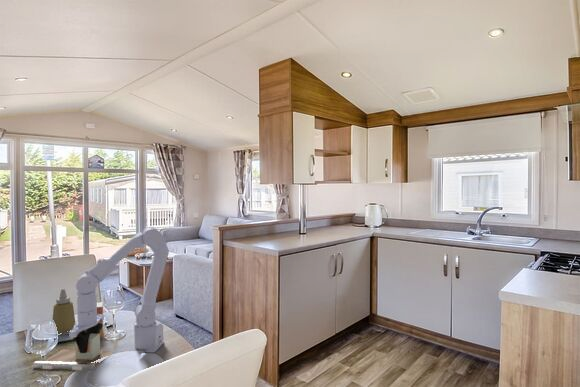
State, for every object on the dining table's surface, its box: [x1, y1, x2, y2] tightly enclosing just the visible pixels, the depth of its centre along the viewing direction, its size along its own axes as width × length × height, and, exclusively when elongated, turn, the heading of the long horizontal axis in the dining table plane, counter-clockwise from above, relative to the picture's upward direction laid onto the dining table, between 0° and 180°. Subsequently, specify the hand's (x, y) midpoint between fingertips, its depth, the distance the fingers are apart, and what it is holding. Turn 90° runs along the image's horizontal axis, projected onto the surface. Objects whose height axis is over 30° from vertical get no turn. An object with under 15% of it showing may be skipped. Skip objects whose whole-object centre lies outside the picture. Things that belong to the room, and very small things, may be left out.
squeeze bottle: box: [52, 288, 76, 334], centre depth 135 cm, size 8×8×18 cm
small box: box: [85, 301, 104, 338], centre depth 130 cm, size 8×6×13 cm
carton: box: [74, 334, 101, 360], centre depth 113 cm, size 4×6×7 cm, turn 85°
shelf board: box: [33, 348, 116, 371], centre depth 111 cm, size 20×12×3 cm, turn 86°
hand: (88, 349), depth 113 cm, fingers closed on carton, 4 cm apart
